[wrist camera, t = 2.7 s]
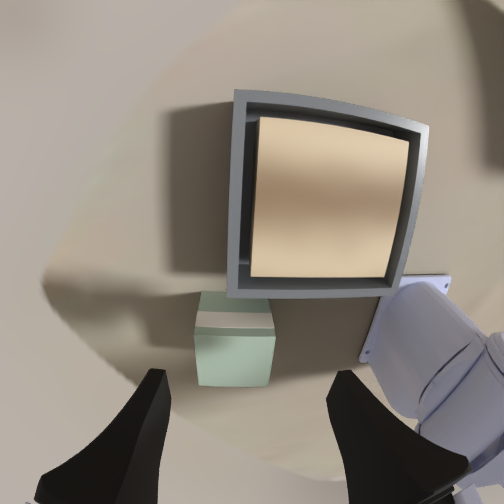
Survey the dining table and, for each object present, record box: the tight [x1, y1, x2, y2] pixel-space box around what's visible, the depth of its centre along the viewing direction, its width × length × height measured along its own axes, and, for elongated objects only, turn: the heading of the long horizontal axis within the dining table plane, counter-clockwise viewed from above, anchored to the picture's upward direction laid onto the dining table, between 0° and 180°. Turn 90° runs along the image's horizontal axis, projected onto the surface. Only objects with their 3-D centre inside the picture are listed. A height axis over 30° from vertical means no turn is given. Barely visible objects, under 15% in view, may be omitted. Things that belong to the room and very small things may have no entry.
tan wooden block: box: [248, 117, 409, 277], centre depth 15 cm, size 8×8×3 cm
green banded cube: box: [194, 291, 276, 387], centre depth 19 cm, size 5×5×5 cm
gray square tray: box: [227, 89, 429, 299], centre depth 15 cm, size 11×11×4 cm
